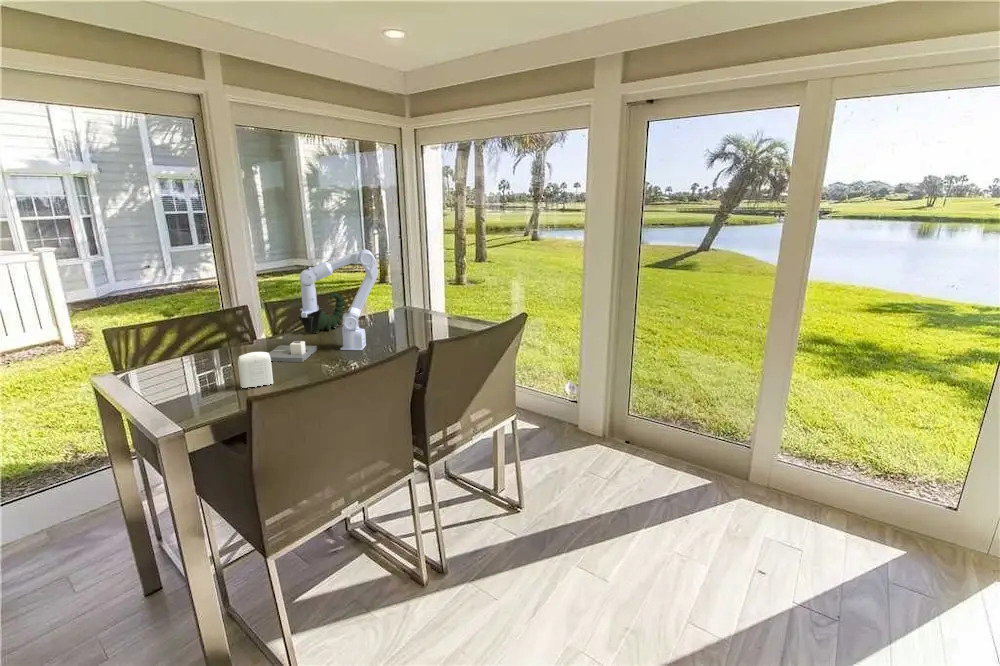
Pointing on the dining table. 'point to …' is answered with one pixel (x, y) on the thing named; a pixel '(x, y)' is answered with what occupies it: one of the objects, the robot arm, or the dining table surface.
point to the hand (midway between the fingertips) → (312, 329)
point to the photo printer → (255, 369)
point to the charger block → (298, 348)
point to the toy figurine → (332, 320)
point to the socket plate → (285, 355)
